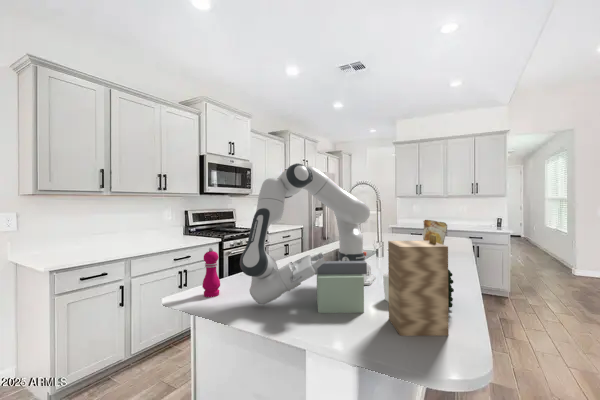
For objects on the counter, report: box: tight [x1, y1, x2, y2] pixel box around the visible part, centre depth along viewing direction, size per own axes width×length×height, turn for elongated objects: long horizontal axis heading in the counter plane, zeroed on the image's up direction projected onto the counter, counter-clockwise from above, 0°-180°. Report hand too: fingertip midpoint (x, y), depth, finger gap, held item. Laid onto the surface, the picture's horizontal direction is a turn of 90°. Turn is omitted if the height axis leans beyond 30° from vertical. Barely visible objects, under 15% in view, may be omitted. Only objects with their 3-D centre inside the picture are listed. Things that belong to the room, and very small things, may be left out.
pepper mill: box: [201, 247, 221, 298], centre depth 128 cm, size 7×7×20 cm
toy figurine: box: [448, 269, 455, 308], centre depth 117 cm, size 9×19×25 cm
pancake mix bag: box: [422, 219, 448, 245], centre depth 155 cm, size 7×19×28 cm, turn 4°
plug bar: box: [311, 260, 368, 276], centre depth 113 cm, size 20×4×4 cm, turn 90°
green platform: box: [316, 274, 365, 314], centre depth 113 cm, size 16×12×12 cm
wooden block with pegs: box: [387, 235, 449, 337], centre depth 95 cm, size 14×12×28 cm
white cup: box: [382, 272, 389, 303], centre depth 119 cm, size 8×8×10 cm
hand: (323, 257), depth 113 cm, fingers open, 8 cm apart
